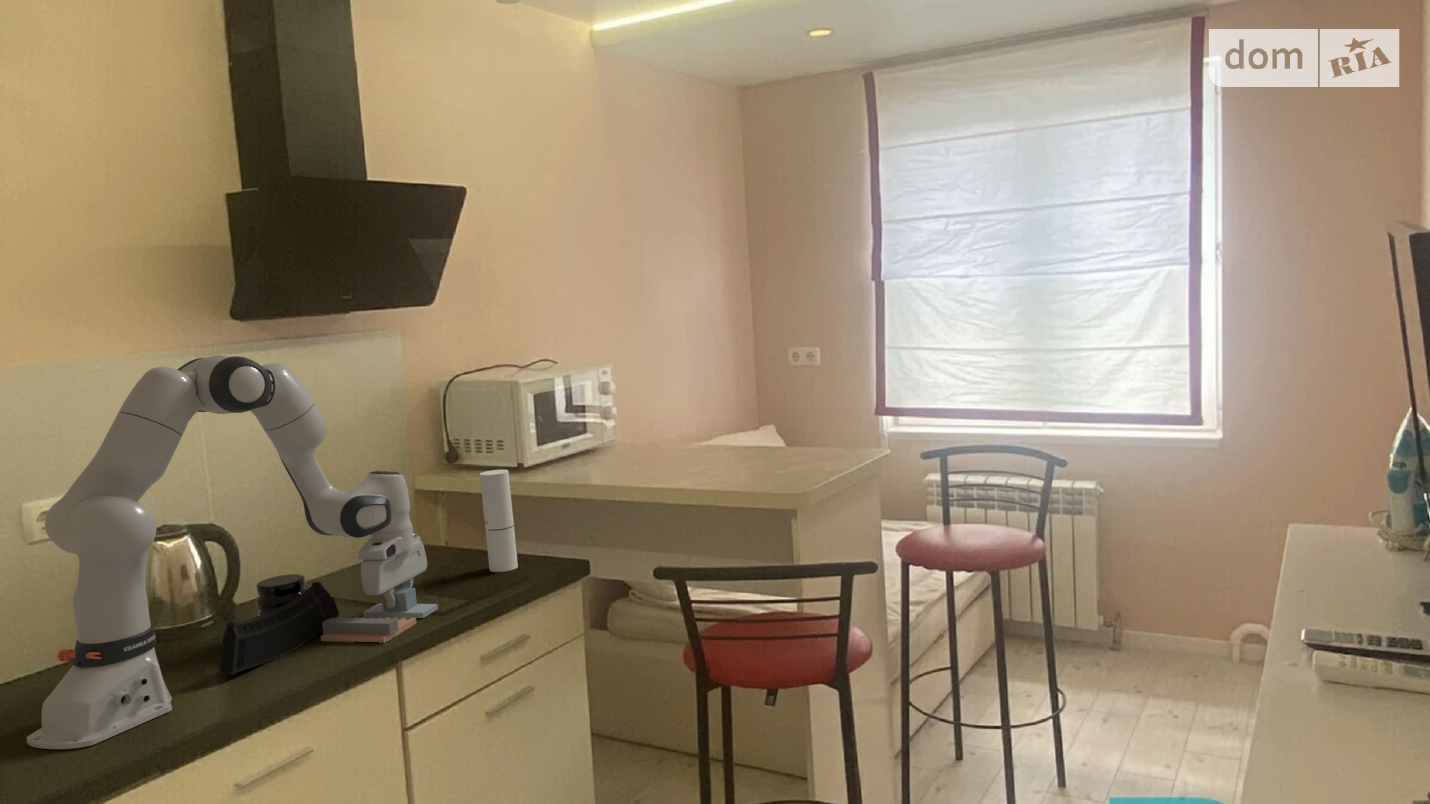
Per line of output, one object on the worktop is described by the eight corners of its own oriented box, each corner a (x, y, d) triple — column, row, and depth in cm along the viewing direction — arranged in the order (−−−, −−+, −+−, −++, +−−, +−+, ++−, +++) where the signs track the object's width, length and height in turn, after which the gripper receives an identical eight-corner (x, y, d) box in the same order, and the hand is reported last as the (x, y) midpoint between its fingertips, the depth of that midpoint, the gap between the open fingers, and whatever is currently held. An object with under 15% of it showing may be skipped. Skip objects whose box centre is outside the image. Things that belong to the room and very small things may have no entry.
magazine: (217, 639, 184) (318, 552, 210) (203, 639, 185) (305, 552, 211) (248, 712, 190) (342, 619, 216) (235, 711, 191) (330, 618, 217)
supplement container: (250, 638, 212) (243, 584, 210) (296, 623, 220) (289, 571, 219) (277, 646, 205) (270, 590, 204) (323, 630, 214) (316, 576, 213)
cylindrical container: (509, 562, 259) (500, 468, 256) (522, 567, 253) (513, 471, 251) (484, 569, 254) (474, 473, 252) (497, 573, 249) (487, 476, 246)
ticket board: (386, 643, 202) (384, 626, 201) (319, 641, 206) (317, 625, 206) (418, 623, 213) (416, 607, 213) (354, 622, 217) (352, 606, 217)
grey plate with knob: (423, 618, 216) (420, 594, 216) (363, 617, 220) (361, 594, 219) (437, 609, 222) (435, 586, 221) (379, 608, 226) (376, 586, 225)
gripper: (406, 530, 230) (412, 588, 231) (353, 554, 210) (360, 617, 212) (430, 530, 228) (436, 588, 230) (379, 554, 209) (386, 617, 210)
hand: (399, 602), depth 221 cm, fingers closed on grey plate with knob, 4 cm apart
